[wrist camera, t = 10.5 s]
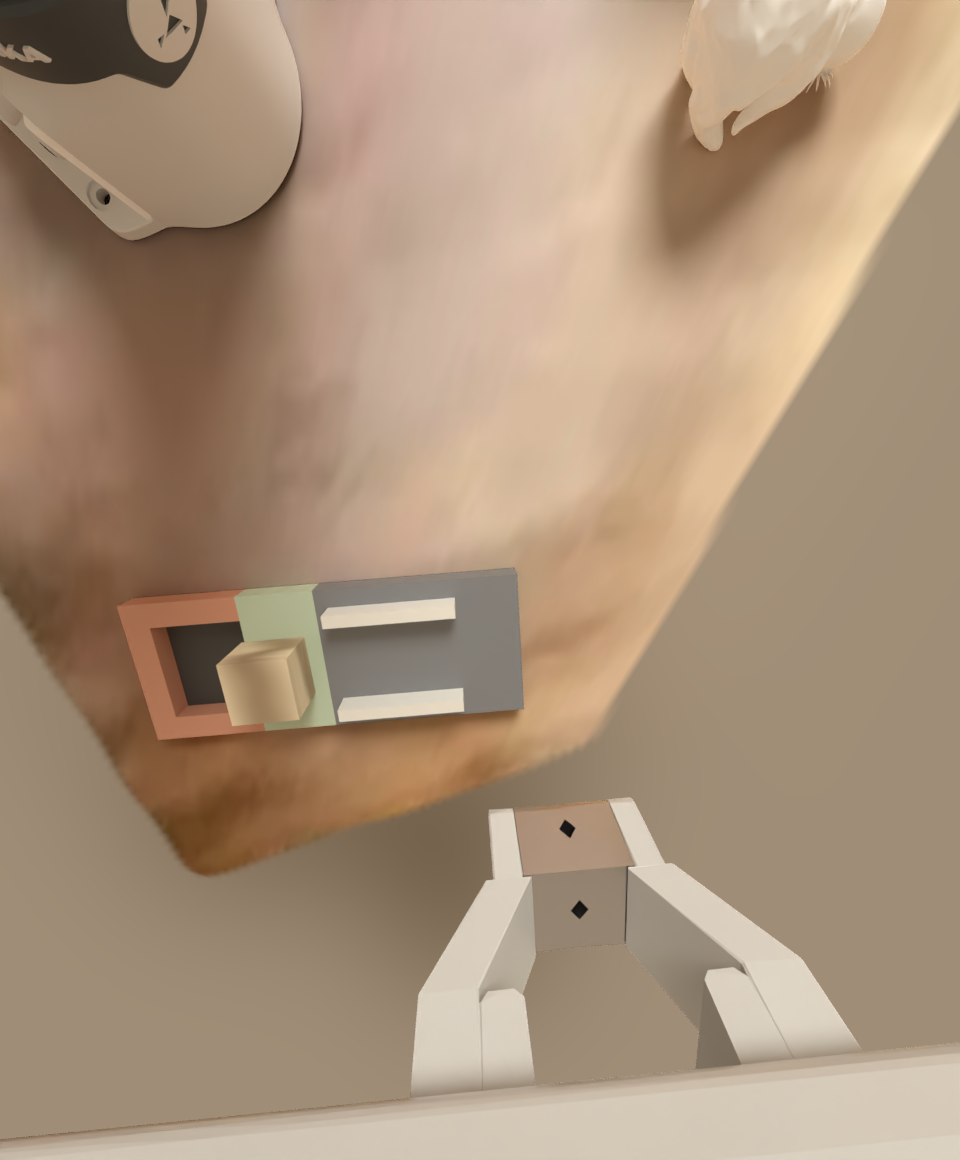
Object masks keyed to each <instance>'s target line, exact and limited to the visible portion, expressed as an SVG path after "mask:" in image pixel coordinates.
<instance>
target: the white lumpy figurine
mask: <svg viewBox="0 0 960 1160" xmlns="http://www.w3.org/2000/svg"><path fill="white" fill-rule="evenodd" d="M885 5H886V0H694V3H693V6H692V8H691V11H690V14H689V17H688V20H687V24H686V28H685V34H684V39H683V42H682V46H681V53H680V62H681V65H682V68H683V72H684V75H685V77H686V80H687V81H688V83H689V85H690V87H691V88H692V94H691V96H690V99H689V115H690V120H691V124H692V127H693V130H694V133H695V136H696V138H697V139H698V141H699V142H700V143H701V144H702V145H703V146H704V147H705V148H707V149H708V150H709V151H717V150H718V149H719V148H720V147H721V145H722V143H723V120H724V119H725V118H726V117H727V116H728V115H729V114H730V113H731V112H733V111H741V110H743V111H742V112H741V113H740V114H739V115H738V117H737V118H736V120H735V121H734V123H733V126H732V130H731V133H732V135H733V136H734V135H736V134H737V133H738V132H739V131H740V130H742V129H743V128H745V127H746V126H748V125H750V124H751V123H753V122H755V121H756V120H758V119H759V118H761V117H762V116H764V115H765V114H767V113H769V112H771V111H774V110H776V109H778V108H780V107H782V106H784V105H786V104H787V103H789V102H790V101H792V100H793V99H794V98H795V97H796V96H797V95H798V94H800V93H801V92H802V91H803V90H804V89H805V87H806V86H807V85H808V84H809V83H810V82H811V83H810V85H809V87H808V89H807V91H808V90H809V88H810V87H811V85H812V84H813V82H814V80H815V78H816V77H817V83H816V84H817V86H816V91H817V88H818V85H819V82H820V81H819V80H821V79H820V77H821V76H822V79H823V81H824V84H825V88H826V78H827V80H828V83H829V87H830V77H829V75H828V73H830V75H831V76H832V78H833V72H832V70H831V69H833V68H836V67H838V66H840V65H842V64H844V63H846V62H847V61H849V60H850V59H851V58H852V57H854V56H855V55H856V54H857V53H858V52H859V51H860V50H861V49H862V48H863V47H864V46H865V45H866V43H867V42H868V41H869V40H870V38H871V37H872V35H873V33H874V32H875V30H876V28H877V26H878V24H879V22H880V20H881V17H882V14H883V12H884V8H885ZM807 91H806V93H807Z"/></svg>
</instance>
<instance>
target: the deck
mask: <svg viewBox="0 0 960 1160" xmlns="http://www.w3.org/2000/svg"><path fill="white" fill-rule="evenodd" d="M244 590H245V589H242V590H229V591H217V592H204V593H192V594H179V595H167V596H154V597H142V598H133V599H131V600H129V601H127V602H125V603H123V604H120V605H118V606H116V607H117V610H118V613H119V616H120V619H121V623H122V626H123V629H124V632H125V635H126V639H127V642H128V645H129V648H130V651H131V655H132V658H133V661H134V664H135V667H136V671H137V674H138V677H139V680H140V683H141V687H142V690H143V693H144V696H145V699H146V703H147V706H148V709H149V712H150V715H151V718H152V722H153V725H154V728H155V731H156V734H157V738H158V740H165V739H177V738H189V737H201V736H212V735H224V734H236V733H248V732H259V731H265V727H264V723H261V724H250V725H239V726H232V723H231V720H230V716H229V712H228V709H227V705H226V701H225V697H224V694H223V690H222V686H221V683H220V679H219V675H218V671H217V668H216V665H217V664H218V663H219V662H220V661H221V660H223V659H224V658H225V657H226V656H227V655H228V654H229V653H230V652H231V651H233V650H234V649H235V648H236V647H237V646H238V645H239V644H240V643H241V642H244V638H243V634H242V629H241V625H240V621H239V617H238V612H237V608H236V604H235V600H234V597H235V596H236V595H238V594H239V593H241V592H242V591H244ZM312 595H313V601H314V606H315V612H316V617H317V623H318V628H319V633H320V639H321V644H322V650H323V655H324V661H325V666H326V671H327V677H328V682H329V688H330V693H331V699H332V704H333V709H334V715H335V720H336V725H342V724H354V723H365V722H377V721H389V720H401V719H412V718H424V717H436V716H448V715H459V714H471V713H483V712H495V711H506V710H518V709H524V701H523V682H522V663H521V643H520V624H519V605H518V585H517V573H516V571H515V569H514V568H504V569H492V570H479V571H467V572H454V573H442V574H429V575H417V576H404V577H392V578H379V579H367V580H354V581H342V582H329V583H319V584H318V585H317V586H316V587H315V588H314V589H313V590H312ZM443 598H455V605H456V619H444V620H431V621H419V622H407V623H395V624H382V625H370V626H358V627H346V628H333V629H322V624H321V618H320V617H321V615H322V614H323V613H324V612H325V611H326V609H327V608H332V607H344V606H357V605H369V604H381V603H394V602H406V601H418V600H431V599H443ZM456 688H463V692H464V712H453V713H441V714H429V715H418V716H406V717H394V718H382V719H371V720H359V721H347V722H339V717H338V712H337V711H338V709H339V707H340V705H341V702H342V700H343V698H349V697H361V696H372V695H384V694H396V693H408V692H420V691H432V690H444V689H456Z"/></svg>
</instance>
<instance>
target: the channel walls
mask: <svg viewBox="0 0 960 1160" xmlns="http://www.w3.org/2000/svg"><path fill="white" fill-rule="evenodd" d="M320 618H321V624H322V629H333V628H346V627H358V626H370V625H382V624H395V623H407V622H419V621H431V620H444V619H456V605H455V598H443V599H431V600H418V601H406V602H394V603H381V604H369V605H357V606H344V607H332V608H327V609H326V611H325V612H324V613H323V614H322V615H321V617H320ZM337 712H338V717H339V722H347V721H359V720H371V719H382V718H394V717H406V716H418V715H429V714H441V713H453V712H464V692H463V688H456V689H444V690H432V691H420V692H408V693H396V694H384V695H372V696H361V697H349V698H343V700H342V702H341V705H340V707H339V709H338V711H337Z"/></svg>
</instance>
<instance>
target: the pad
mask: <svg viewBox="0 0 960 1160" xmlns="http://www.w3.org/2000/svg"><path fill="white" fill-rule="evenodd" d="M318 584H319V583H317V584H304V585H292V586H279V587H267V588H254V589H245V590H244V591H242V592H241V593H239V594H238V595H236V596H235V597H234V600H235V604H236V608H237V612H238V617H239V621H240V625H241V629H242V634H243V638H244V642H253V641H264V640H275V639H286V638H297V637H304V638H305V643H306V648H307V653H308V657H309V662H310V667H311V672H312V677H313V682H314V687H315V692H316V693H315V694H314V696H313V698H312V699H311V701H310V703H309V705H308V706H307V708H306V710H305V711H304V713H303V715H302V716H301V718H300V720H293V721H283V722H272V723H264V727H265V731H271V730H283V729H295V728H307V727H318V726H330V725H336V720H335V715H334V709H333V704H332V699H331V693H330V688H329V682H328V677H327V671H326V666H325V661H324V655H323V650H322V644H321V639H320V633H319V628H318V623H317V617H316V612H315V606H314V601H313V595H312V590H313V589H314V588H315V587H316V586H317V585H318Z"/></svg>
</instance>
